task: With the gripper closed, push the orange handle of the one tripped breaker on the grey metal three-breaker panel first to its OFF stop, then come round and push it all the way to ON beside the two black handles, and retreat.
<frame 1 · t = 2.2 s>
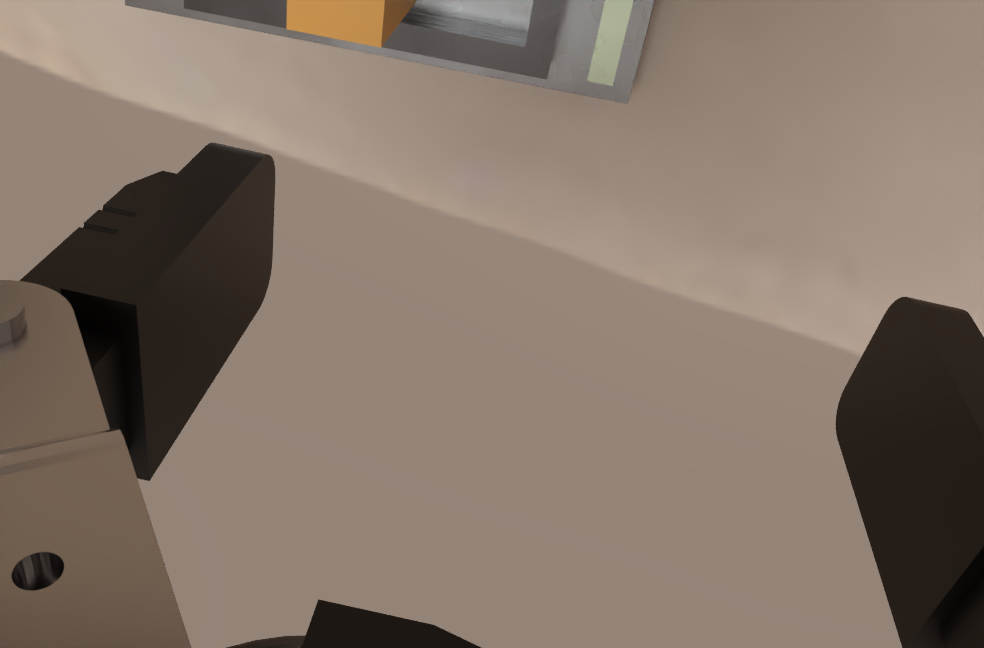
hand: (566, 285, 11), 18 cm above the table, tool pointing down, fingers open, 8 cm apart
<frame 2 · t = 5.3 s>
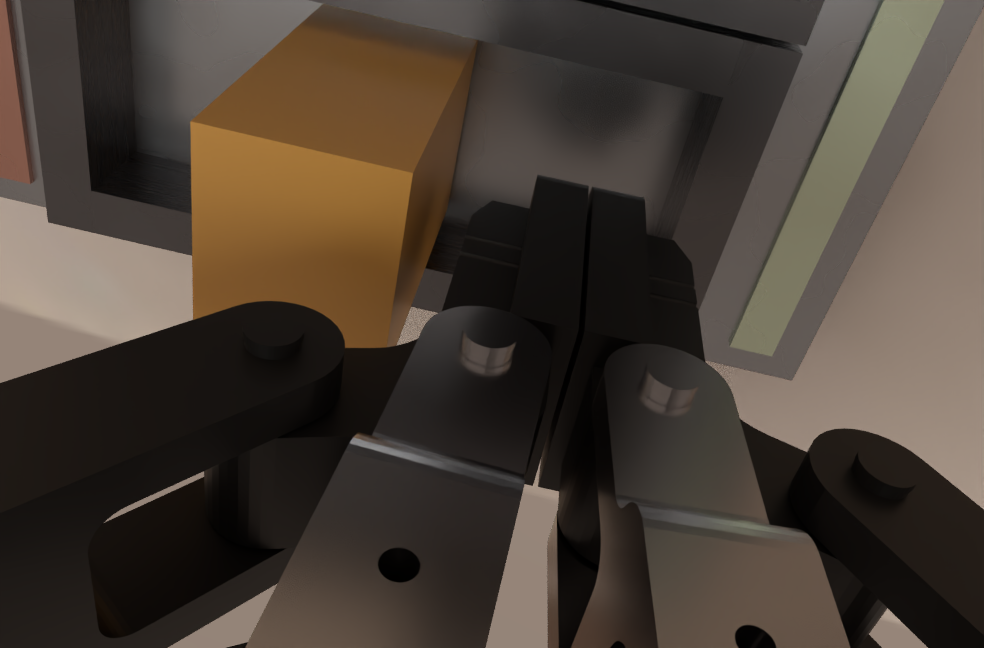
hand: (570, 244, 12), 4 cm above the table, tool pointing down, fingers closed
tripped breaker: (350, 175, 12), point 4 cm above the table, slide at -0.2 cm, touching gripper
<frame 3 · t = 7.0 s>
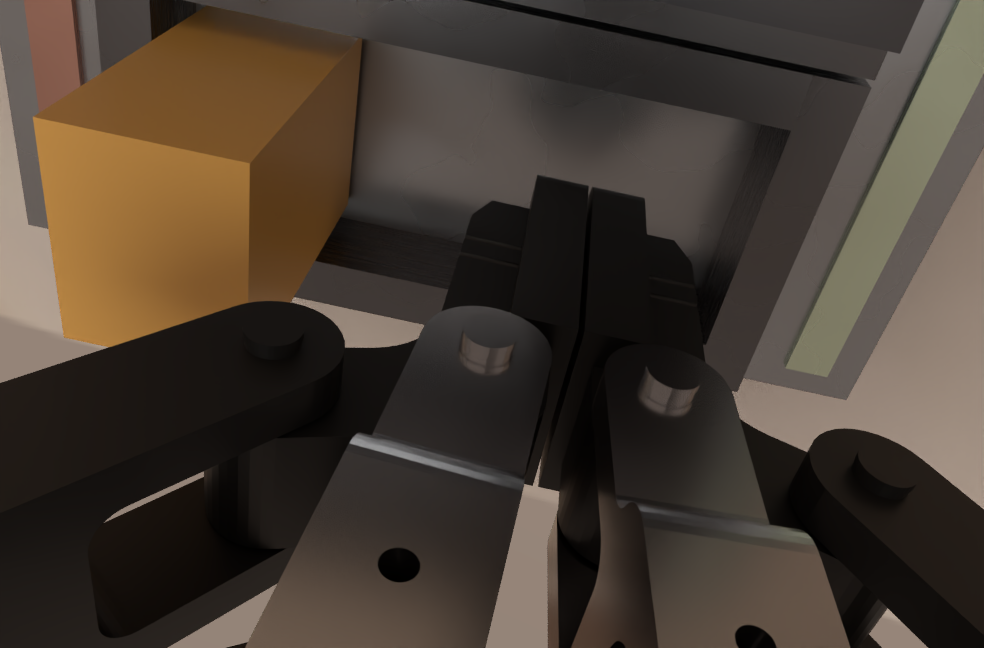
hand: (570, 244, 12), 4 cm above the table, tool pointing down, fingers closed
tripped breaker: (228, 170, 12), point 4 cm above the table, slide at -3.1 cm
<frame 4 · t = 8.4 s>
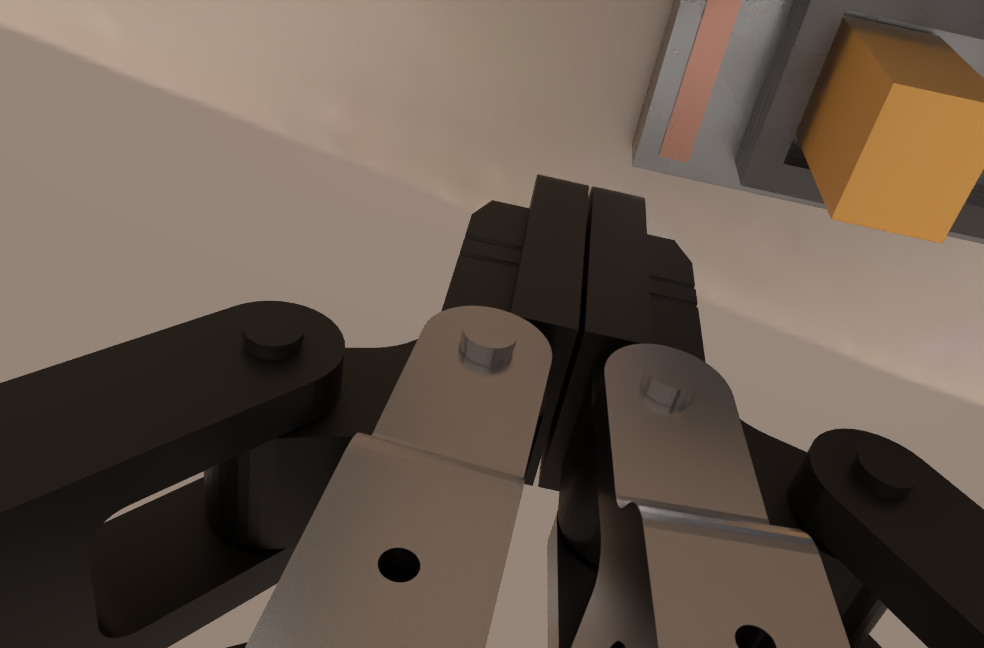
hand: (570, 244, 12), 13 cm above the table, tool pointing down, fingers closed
tripped breaker: (888, 121, 19), point 4 cm above the table, slide at -3.1 cm
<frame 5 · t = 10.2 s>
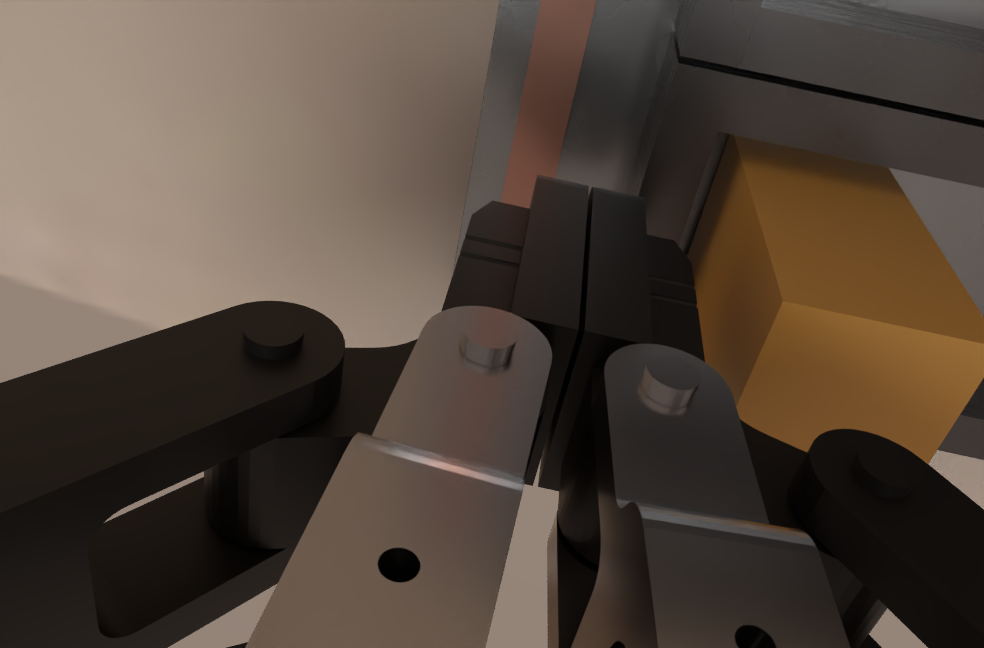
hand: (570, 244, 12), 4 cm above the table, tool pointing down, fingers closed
tripped breaker: (799, 311, 12), point 4 cm above the table, slide at -2.9 cm, touching gripper
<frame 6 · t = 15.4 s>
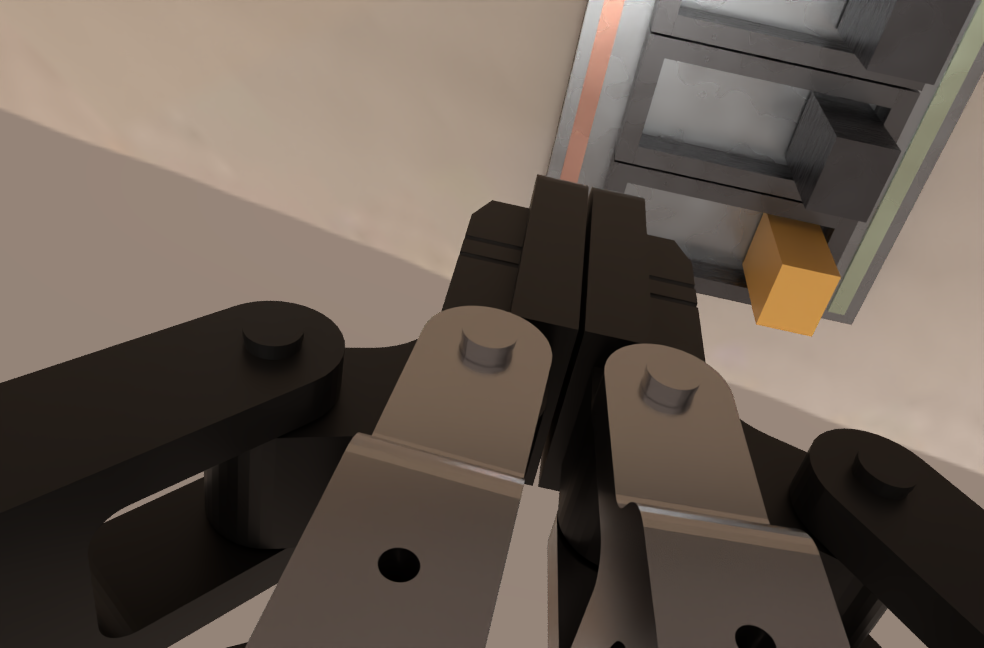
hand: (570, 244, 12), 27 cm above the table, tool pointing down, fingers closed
panel: (751, 101, 38), on the table
tripped breaker: (787, 270, 37), point 4 cm above the table, slide at 3.1 cm
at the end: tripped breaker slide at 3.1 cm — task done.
